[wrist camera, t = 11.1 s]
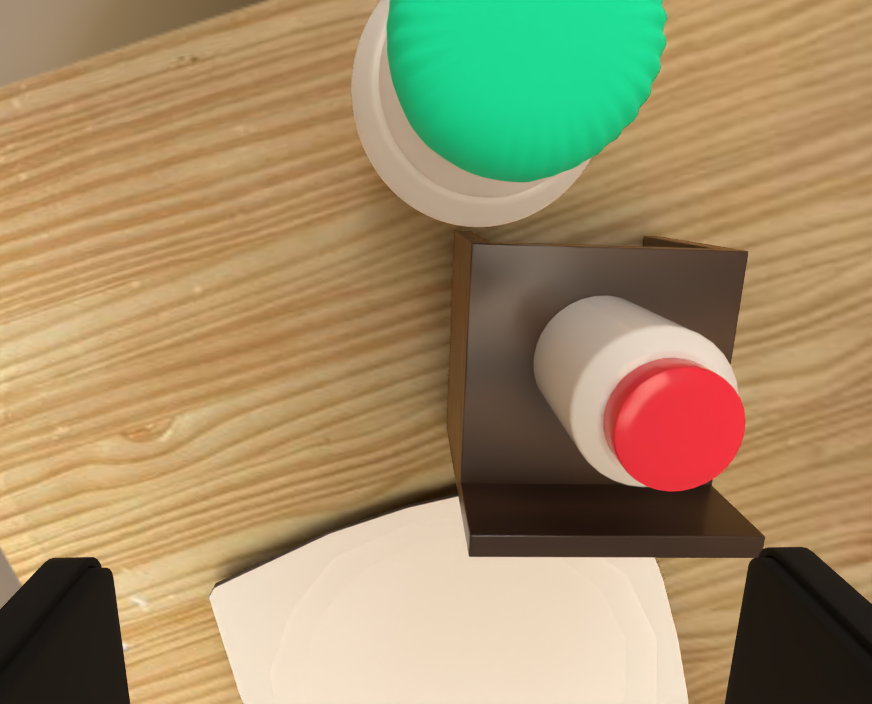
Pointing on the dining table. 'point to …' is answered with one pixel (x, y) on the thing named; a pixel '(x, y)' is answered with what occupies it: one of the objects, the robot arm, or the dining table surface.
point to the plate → (445, 621)
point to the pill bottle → (640, 394)
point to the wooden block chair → (537, 424)
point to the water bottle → (498, 97)
